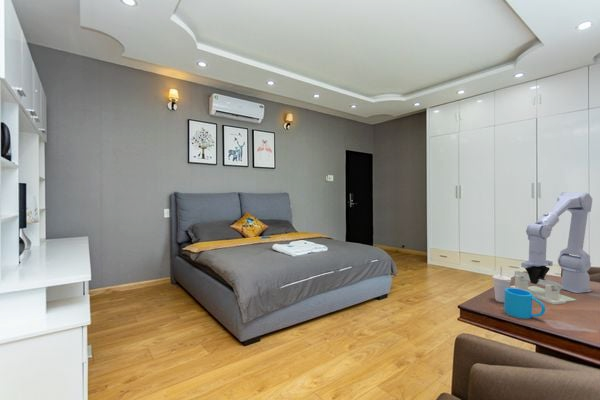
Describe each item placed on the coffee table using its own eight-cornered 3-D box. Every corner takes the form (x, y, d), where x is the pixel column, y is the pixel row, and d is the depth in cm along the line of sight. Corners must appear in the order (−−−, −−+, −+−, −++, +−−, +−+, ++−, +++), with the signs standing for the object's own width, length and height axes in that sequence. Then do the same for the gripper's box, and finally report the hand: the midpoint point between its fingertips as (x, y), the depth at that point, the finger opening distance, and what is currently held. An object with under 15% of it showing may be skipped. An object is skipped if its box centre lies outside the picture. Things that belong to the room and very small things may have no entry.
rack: (520, 287, 136) (520, 273, 136) (565, 303, 118) (566, 286, 117) (509, 288, 135) (510, 273, 134) (554, 304, 116) (554, 287, 116)
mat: (535, 286, 137) (535, 285, 137) (576, 300, 120) (576, 299, 120) (523, 287, 135) (523, 287, 135) (563, 302, 119) (563, 301, 119)
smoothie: (504, 298, 123) (505, 265, 122) (514, 304, 117) (515, 269, 116) (488, 297, 124) (489, 264, 123) (497, 303, 117) (498, 269, 117)
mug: (500, 312, 109) (501, 291, 108) (508, 307, 114) (509, 286, 113) (541, 324, 99) (542, 301, 99) (548, 318, 104) (549, 295, 104)
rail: (518, 275, 135) (518, 271, 135) (561, 289, 117) (561, 283, 117) (514, 276, 134) (514, 271, 134) (556, 289, 117) (557, 284, 117)
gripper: (533, 254, 120) (532, 287, 120) (560, 253, 123) (559, 284, 124) (517, 251, 127) (516, 282, 127) (543, 249, 130) (542, 279, 131)
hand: (536, 283), depth 126 cm, fingers closed on rail, 2 cm apart
